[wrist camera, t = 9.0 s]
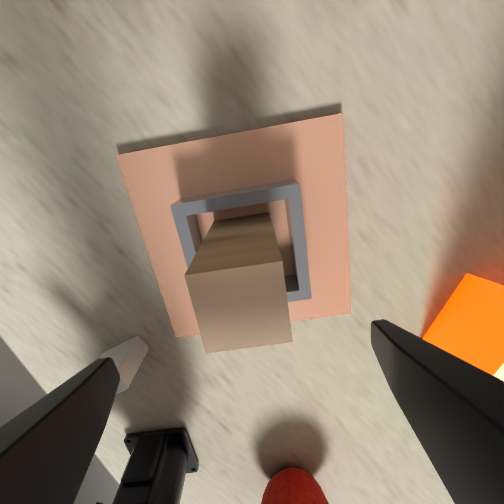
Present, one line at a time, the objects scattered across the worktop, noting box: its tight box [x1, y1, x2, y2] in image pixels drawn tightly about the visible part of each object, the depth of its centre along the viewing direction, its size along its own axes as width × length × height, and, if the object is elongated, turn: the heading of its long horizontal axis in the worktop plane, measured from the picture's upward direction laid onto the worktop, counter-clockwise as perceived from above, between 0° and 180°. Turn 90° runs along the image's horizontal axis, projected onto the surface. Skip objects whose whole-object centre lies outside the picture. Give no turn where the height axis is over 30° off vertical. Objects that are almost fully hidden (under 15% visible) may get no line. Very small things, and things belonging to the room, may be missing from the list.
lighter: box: [99, 336, 149, 394], centre depth 20 cm, size 7×2×8 cm, turn 118°
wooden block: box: [184, 212, 293, 353], centre depth 16 cm, size 4×4×9 cm
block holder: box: [115, 113, 351, 338], centre depth 19 cm, size 15×15×3 cm
